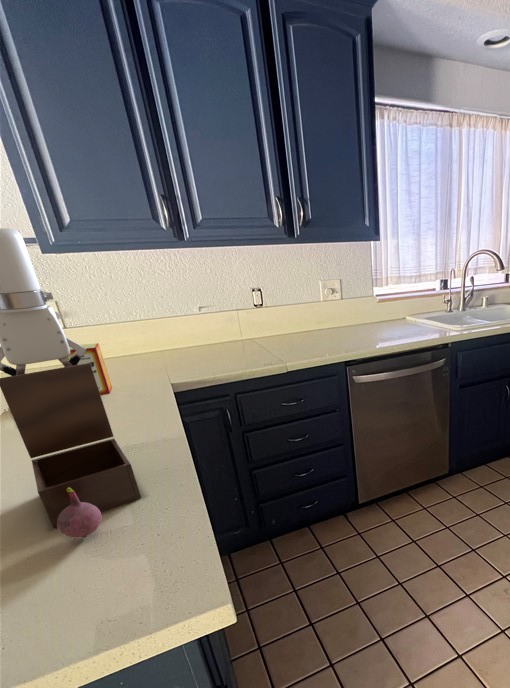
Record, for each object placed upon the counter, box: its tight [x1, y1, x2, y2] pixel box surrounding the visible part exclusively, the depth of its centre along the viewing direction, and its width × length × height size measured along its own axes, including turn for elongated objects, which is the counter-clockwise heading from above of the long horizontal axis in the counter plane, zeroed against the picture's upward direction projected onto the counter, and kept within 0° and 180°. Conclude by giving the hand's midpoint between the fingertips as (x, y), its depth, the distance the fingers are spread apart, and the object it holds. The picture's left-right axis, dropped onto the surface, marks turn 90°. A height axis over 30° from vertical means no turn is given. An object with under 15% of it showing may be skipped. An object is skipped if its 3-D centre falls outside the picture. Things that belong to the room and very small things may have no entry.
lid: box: [0, 363, 115, 459], centre depth 87 cm, size 16×15×5 cm
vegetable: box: [56, 488, 102, 539], centre depth 73 cm, size 6×6×10 cm
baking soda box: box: [66, 342, 113, 396], centre depth 141 cm, size 10×6×16 cm
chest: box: [31, 437, 142, 529], centre depth 85 cm, size 16×15×8 cm
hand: (53, 391), depth 87 cm, fingers closed on lid, 6 cm apart
